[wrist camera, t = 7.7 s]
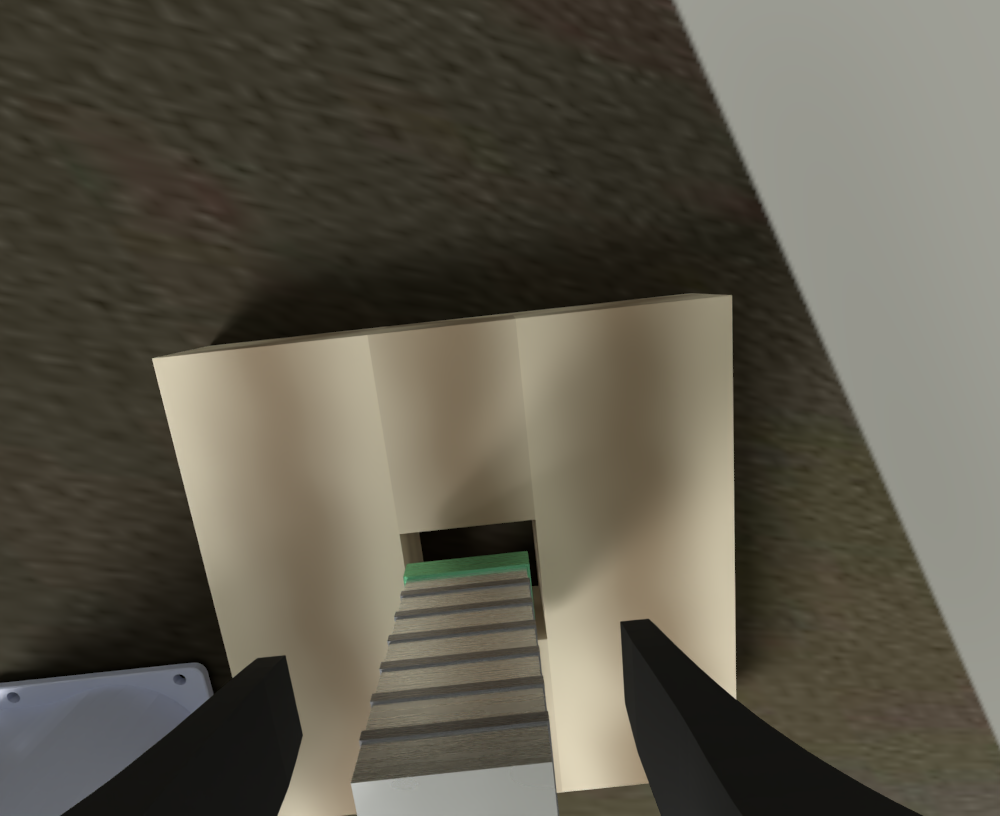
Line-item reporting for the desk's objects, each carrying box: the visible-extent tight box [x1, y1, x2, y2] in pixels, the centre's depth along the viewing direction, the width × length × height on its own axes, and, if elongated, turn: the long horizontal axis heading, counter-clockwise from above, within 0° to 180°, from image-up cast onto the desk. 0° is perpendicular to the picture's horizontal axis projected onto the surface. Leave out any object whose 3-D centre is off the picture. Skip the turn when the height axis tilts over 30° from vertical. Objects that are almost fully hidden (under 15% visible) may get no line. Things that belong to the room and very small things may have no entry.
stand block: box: [152, 293, 736, 816], centre depth 20 cm, size 18×18×4 cm
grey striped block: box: [351, 551, 559, 816], centre depth 14 cm, size 4×4×8 cm
